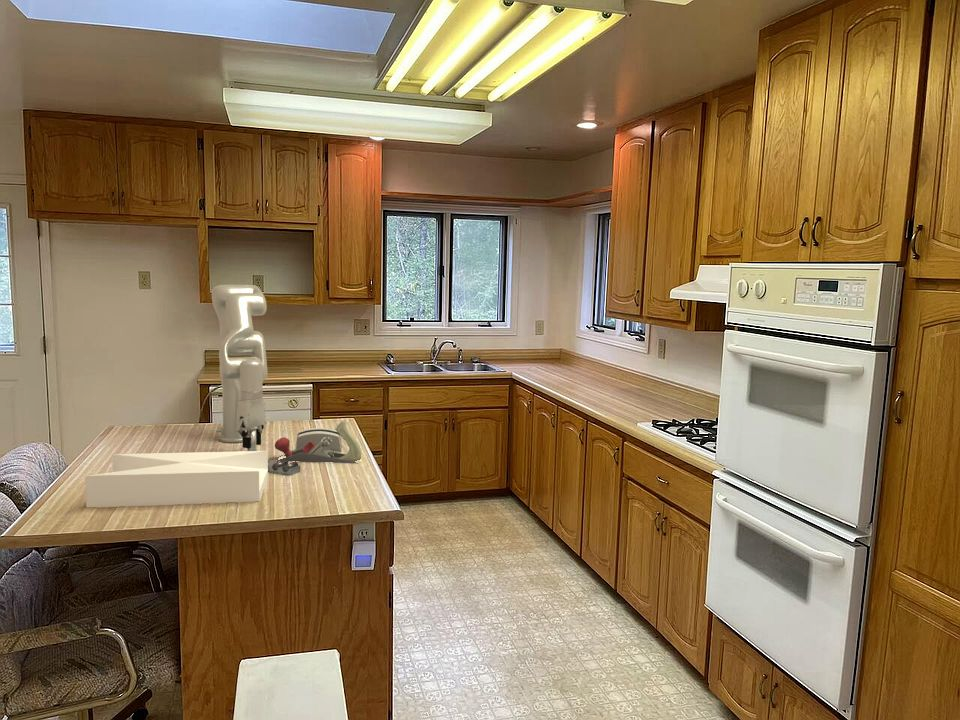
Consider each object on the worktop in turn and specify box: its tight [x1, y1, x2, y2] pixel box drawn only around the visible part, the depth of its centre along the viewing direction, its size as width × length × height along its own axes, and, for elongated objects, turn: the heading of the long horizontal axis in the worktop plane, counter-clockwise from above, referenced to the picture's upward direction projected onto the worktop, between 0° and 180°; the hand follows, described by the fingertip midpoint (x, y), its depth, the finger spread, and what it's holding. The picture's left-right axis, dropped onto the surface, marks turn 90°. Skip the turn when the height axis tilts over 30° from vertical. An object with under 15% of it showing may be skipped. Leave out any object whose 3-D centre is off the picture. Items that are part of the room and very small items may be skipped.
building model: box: [84, 450, 269, 508], centre depth 198 cm, size 45×22×10 cm, turn 101°
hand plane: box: [274, 419, 362, 464], centre depth 236 cm, size 7×31×15 cm, turn 90°
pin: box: [247, 426, 258, 451], centre depth 238 cm, size 4×4×11 cm
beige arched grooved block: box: [294, 427, 343, 452], centre depth 248 cm, size 17×5×10 cm, turn 100°
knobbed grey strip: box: [268, 459, 301, 476], centre depth 226 cm, size 32×7×3 cm, turn 68°
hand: (251, 445), depth 238 cm, fingers open, 4 cm apart
